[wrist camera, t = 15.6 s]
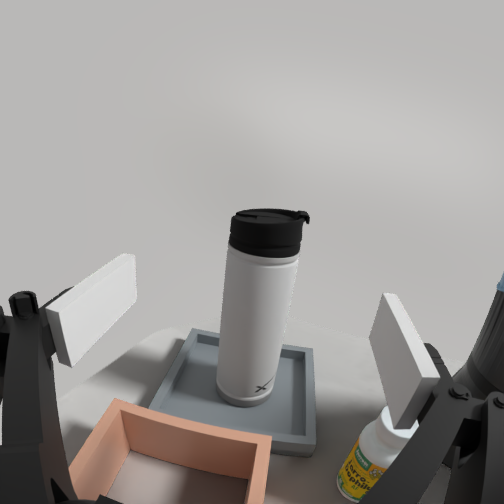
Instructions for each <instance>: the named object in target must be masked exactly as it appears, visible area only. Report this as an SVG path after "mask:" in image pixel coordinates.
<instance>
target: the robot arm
mask: <svg viewBox="0 0 504 504" xmlns="http://www.w3.org/2000/svg"><path fill="white" fill-rule="evenodd" d="M136 301H137V292H136V274H135V255H131V254H125V253H122V254H121V255H119V256H118V257H116V258H115V259H114V260H112V261H111V262H109V263H108V264H106V265H105V266H103V267H102V268H100V269H99V270H97V271H96V272H94V273H93V274H92V275H90V276H89V277H87V278H86V279H84V280H83V281H82V282H80V283H79V284H77V285H76V286H73V287H71V288H68V289H65V290H64V291H63V292H61V293H60V294H59V295H57V296H56V297H54V298H53V299H51V300H50V301H49V302H47V303H46V304H44V305H43V306H42V307H41V308H38V304H37V299H36V294H35V293H33V292H30V291H21V292H17V293H15V294H13V295H12V296H11V297H10V298H9V304H10V308H11V312H12V315H13V316H5V315H4V312H3V309H2V307H1V306H0V404H1V401H2V399H3V405H2V406H3V407H2V445H0V504H122V503H120V502H117V501H115V500H113V499H110V498H108V497H106V496H103V495H101V494H100V495H99V497H98V499H97V500H96V501H95V500H87V499H78V497H77V495H76V493H75V491H74V488H73V485H72V481H71V477H70V473H69V469H68V465H67V460H66V456H65V451H64V446H63V441H62V435H61V429H60V423H59V416H58V409H57V401H56V392H55V382H54V370H53V361H52V358H51V356H52V355H53V354H54V353H55V352H56V354H57V357H58V360H59V363H62V364H64V365H67V366H69V367H71V368H72V367H73V366H74V365H75V364H76V363H77V362H78V361H79V360H80V358H82V357H83V356H84V354H85V353H86V352H87V351H88V350H89V349H90V348H91V347H92V346H93V345H94V344H95V343H96V342H97V341H98V340H99V339H100V338H101V336H102V335H103V334H104V333H105V332H106V331H107V330H108V329H109V328H110V327H111V326H112V325H113V324H114V323H115V322H116V321H117V320H118V319H119V318H120V317H121V316H122V315H123V314H124V313H125V312H126V311H127V310H128V308H129V307H131V306H132V305H133V304H134V302H136ZM369 340H370V343H371V346H372V350H373V353H374V357H375V360H376V364H377V367H378V371H379V374H380V378H381V382H382V385H383V389H384V393H385V397H386V401H387V405H388V409H389V413H390V417H391V421H392V425H393V429H394V430H402V429H411V428H412V426H413V425H414V423H415V421H416V420H417V421H418V424H419V426H418V428H417V429H416V431H415V432H414V434H413V435H412V437H411V438H410V439H409V441H408V442H407V444H406V445H405V446H404V448H403V449H402V450H401V452H400V453H399V454H398V456H397V457H396V458H395V460H394V461H393V462H392V463H391V465H390V466H389V467H388V469H387V470H386V471H385V472H384V473H383V475H382V476H381V477H380V478H379V479H378V481H377V482H376V483H375V484H374V485H373V486H372V488H371V489H370V490H369V491H368V492H367V493H366V494H365V495H364V497H363V498H362V499H361V500H360V501H359V502H358V503H357V504H417V502H418V501H419V499H420V498H421V496H422V495H423V493H424V492H425V490H426V489H427V487H428V485H429V484H430V482H431V480H432V479H433V477H434V475H435V474H436V472H437V470H438V468H439V467H440V465H441V463H442V462H443V463H445V464H446V465H447V466H449V467H450V468H452V471H451V476H450V481H449V485H448V489H447V493H446V497H445V501H444V504H504V273H503V276H502V278H501V280H500V282H499V283H498V284H497V292H496V295H495V297H494V300H493V303H492V305H491V308H490V311H489V313H488V315H487V318H486V320H485V323H484V325H483V328H482V330H481V332H480V335H479V337H478V339H477V341H476V344H475V345H474V348H473V350H472V352H471V354H470V356H469V358H468V360H467V362H466V363H465V365H464V366H463V367H462V368H461V369H460V370H459V371H458V372H457V373H456V374H455V375H454V376H453V377H451V375H450V373H449V371H448V369H447V367H446V366H445V365H444V362H443V360H442V359H441V356H440V355H439V353H438V351H437V350H436V349H435V348H434V347H433V346H432V345H431V344H429V343H423V342H422V340H421V338H420V336H419V334H418V332H417V331H416V329H415V327H414V325H413V323H412V321H411V320H410V318H409V316H408V314H407V312H406V311H405V309H404V307H403V305H402V304H401V302H400V300H399V298H398V297H397V295H396V294H390V293H383V294H382V297H381V301H380V304H379V307H378V311H377V314H376V317H375V320H374V324H373V327H372V330H371V333H370V336H369Z"/></svg>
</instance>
